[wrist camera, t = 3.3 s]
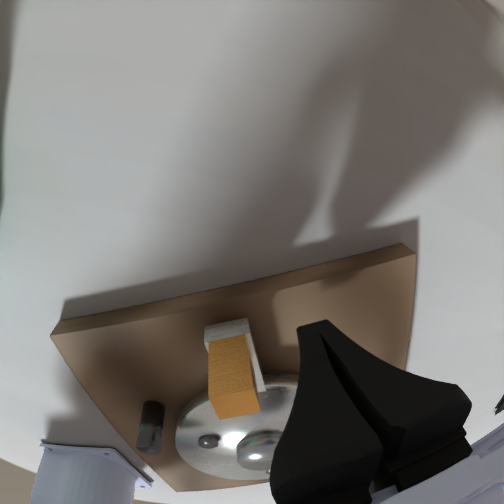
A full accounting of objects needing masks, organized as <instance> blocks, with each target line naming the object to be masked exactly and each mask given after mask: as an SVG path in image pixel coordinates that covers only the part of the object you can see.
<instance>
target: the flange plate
mask: <svg viewBox="0 0 504 504" xmlns="http://www.w3.org/2000/svg"><path fill="white" fill-rule="evenodd" d="M204 344H205V346H206V349H207V351H208V390H206V391H205V392H203V393H201V394H199V395H198V396H196V397H195V398H194V399H192V400H191V401H190V402H189V403H188V404H187V405H186V406H185V407H184V408H183V410H182V411H181V412H180V414H179V417H178V419H177V424H176V436H175V444H176V448H177V451H178V453H179V454H180V456H181V457H182V458H183V459H184V460H185V461H186V462H187V463H188V464H189V465H191V466H192V467H194V468H196V469H198V470H200V471H202V472H204V473H207V474H210V475H213V476H217V477H221V478H227V479H235V480H261V479H269V477H270V469H271V463H272V459H273V454H274V450H275V448H276V446H277V444H278V442H279V439H280V437H281V435H282V433H283V431H284V429H285V426H286V423H287V421H288V418H289V415H290V412H291V409H292V406H293V402H294V398H295V394H296V389H297V384H298V378H299V375H289V374H269V375H263V373H262V370H261V366H260V362H259V359H258V355H257V351H256V348H255V344H254V340H253V337H252V333H251V329H250V325H249V322H248V318H247V317H246V318H241V319H237V320H232V321H228V322H223V323H218V324H214V325H209V326H205V330H204Z"/></svg>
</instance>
